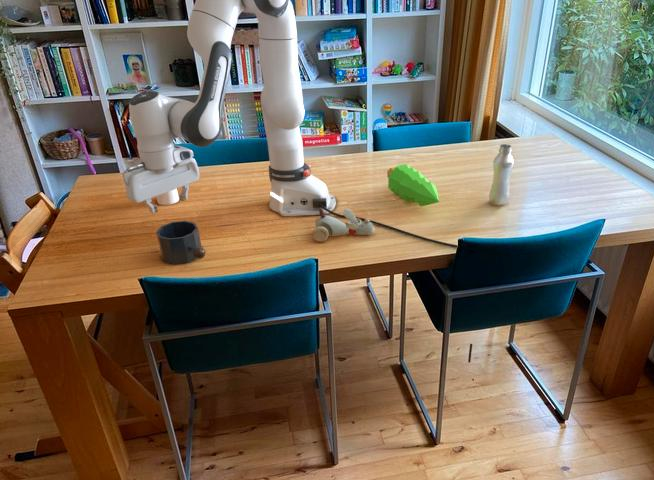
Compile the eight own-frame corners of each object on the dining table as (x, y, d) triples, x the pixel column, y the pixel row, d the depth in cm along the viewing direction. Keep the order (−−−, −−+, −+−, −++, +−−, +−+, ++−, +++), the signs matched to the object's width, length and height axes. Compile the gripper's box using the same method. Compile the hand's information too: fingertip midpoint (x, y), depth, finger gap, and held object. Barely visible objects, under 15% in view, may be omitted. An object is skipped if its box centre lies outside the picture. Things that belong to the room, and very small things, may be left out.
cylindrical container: (172, 205, 186) (157, 133, 173) (153, 204, 187) (136, 132, 174) (182, 197, 192) (168, 126, 179) (163, 195, 193) (148, 125, 180)
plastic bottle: (509, 201, 186) (518, 144, 176) (505, 209, 181) (513, 150, 170) (491, 198, 189) (498, 141, 178) (486, 205, 183) (493, 148, 173)
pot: (148, 230, 153) (181, 250, 144) (183, 217, 160) (217, 234, 151) (154, 255, 157) (187, 275, 148) (188, 241, 164) (221, 259, 155)
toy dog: (377, 237, 165) (377, 210, 161) (319, 249, 159) (317, 222, 154) (361, 220, 175) (361, 194, 170) (305, 231, 169) (304, 205, 164)
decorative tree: (399, 152, 193) (448, 178, 169) (409, 178, 200) (457, 206, 176) (373, 169, 191) (418, 197, 168) (384, 195, 198) (429, 226, 175)
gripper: (127, 172, 134) (141, 222, 141) (197, 149, 147) (206, 196, 154) (114, 166, 137) (128, 216, 145) (184, 144, 150) (193, 191, 158)
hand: (169, 205), depth 150 cm, fingers open, 8 cm apart
